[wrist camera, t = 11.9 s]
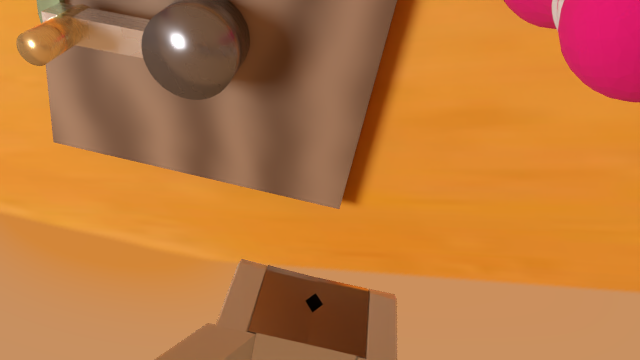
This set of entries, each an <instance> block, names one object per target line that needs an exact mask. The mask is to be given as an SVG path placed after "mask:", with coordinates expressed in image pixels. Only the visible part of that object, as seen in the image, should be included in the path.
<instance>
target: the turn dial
mask: <svg viewBox="0 0 640 360" xmlns="http://www.w3.org/2000/svg"><path fill="white" fill-rule="evenodd" d="M41 13H42V20H43V23H41V24H39V25H37V26H35V27H33V28H31V29H29V30H27V31H25V32H24V33H22V34H20V35H19V36H18V38H17V49H18V51H19V53H20V55H21V56H22V57H23V58H24V59H25V60H26V61H27V62H29V63H31V64H33V65H37V66H42V65H45V64H47V63H48V62H50V61H51V60H53V59H55V58H56V57H58V56H59V55H61V54H62V53H64V52H65V51H67V50H69V49H70V48H72V47H73V46H75V45H76V46H82V47H87V48H92V49H97V50H102V51H107V52H113V53H118V54H123V55H128V56H133V57H138V58H143V59H144V62H145V64H146V66H147V68H148V70H149V72H150V73H151V75H152V76H153V78H154V79H155V80H156V81H157V82H158V83H159V84H160V85H161V86H162V87H163V88H165V89H166V90H168V91H169V92H171V93H173V94H175V95H177V96H179V97H182V98H186V99H192V100H202V99H207V98H211V97H213V96H215V95H217V94H219V93H220V92H222V91H223V90H224V89H225V88H226V87H227V86H228V84H229V83H230V81H231V80H232V78H233V77H234V75H235V74H236V72H237V71H238V69H239V68H240V66H241V65H242V63H243V62H244V60H245V59H246V57H247V54H248V51H249V46H250V35H249V30H248V26H247V23H246V21H245V19H244V17H243V15H242V14H241V12H240V11H239V10H238V9H237V7H236V6H235V5H234V4H232V3H231V2H230V1H229V0H175V1H174V2H172V3H171V4H170V5H168V6H167V7H165V8H164V9H163V10H161V11H160V12H159V13H157V14H156V15H155V16H154V17H153V18H152V19H151V20H149V19H143V18H138V17H133V16H128V15H123V14H117V13H112V12H107V11H102V10H97V9H92V8H91V7H89V6H87V5H84V4H78V5H71V4H65V3H58V4H56V5H54V6H52V7H50V8H48V9H46V10H43V11H41Z"/></svg>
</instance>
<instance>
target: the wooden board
mask: <svg viewBox="0 0 640 360" xmlns="http://www.w3.org/2000/svg"><path fill="white" fill-rule="evenodd" d="M174 1H175V0H37V7H38V12H39V13H38V14H39V18H40V21H41V23H43V20H42V13H41V11H43V10H46V9H48V8H50V7H52V6H54V5H56V4H58V3H65V4H71V5H78V4H84V5H87V6H89V7H91V8H92V9H97V10H102V11H107V12H112V13H117V14H123V15H128V16H133V17H138V18H143V19H149V20H151V19H152V18H153V17H154V16H155V15H156V14H157V13H159V12H160V11H161V10H163V9H164V8H165V7H167V6H168V5H170V4H171V3H172V2H174ZM229 1H230V2H231V3H232V4H234V5H235V6H236V7H237V9H238V10H239V11H240V12H241V14H242V15H243V17H244V19H245V21H246V23H247V26H248V30H249V35H250V46H249V51H248V54H247V57H246V59H245V60H244V62H243V63H242V65H241V66H240V68H239V69H238V71H237V72H236V74H235V75H234V77H233V78H232V80H231V81H230V83H229V84H228V86H227V87H226V88H225V89H224V90H223V91H222V92H220V93H219V94H217V95H215V96H213V97H211V98H207V99H202V100H192V99H186V98H182V97H179V96H177V95H175V94H173V93H171V92H169V91H168V90H166V89H165V88H163V87H162V86H161V85H160V84H159V83H158V82H157V81H156V80H155V79H154V78H153V76H152V75H151V73H150V72H149V70H148V68H147V66H146V64H145V62H144V59H143V58H138V57H133V56H128V55H123V54H118V53H113V52H107V51H102V50H97V49H92V48H87V47H82V46H76V45H75V46H73V47H72V48H70V49H69V50H67V51H65V52H64V53H62V54H61V55H59V56H58V57H56V58H55V59H53V60H51V61H50V62H48V63H47V64H46V71H47V81H48V91H49V101H50V111H51V121H52V130H53V140H54V142H55V143H59V144H64V145H68V146H72V147H76V148H81V149H85V150H89V151H93V152H98V153H102V154H106V155H111V156H115V157H119V158H123V159H128V160H132V161H136V162H140V163H145V164H149V165H153V166H157V167H162V168H166V169H170V170H175V171H179V172H183V173H187V174H192V175H196V176H200V177H204V178H209V179H213V180H217V181H222V182H226V183H230V184H234V185H239V186H243V187H247V188H251V189H256V190H260V191H264V192H269V193H273V194H277V195H281V196H286V197H290V198H294V199H298V200H303V201H307V202H311V203H316V204H320V205H324V206H328V207H333V208H337V209H340V205H341V201H342V198H343V194H344V190H345V187H346V183H347V180H348V176H349V172H350V169H351V165H352V162H353V158H354V154H355V151H356V147H357V143H358V140H359V136H360V133H361V129H362V125H363V122H364V118H365V115H366V111H367V107H368V104H369V100H370V96H371V93H372V89H373V86H374V82H375V78H376V75H377V71H378V68H379V64H380V60H381V57H382V53H383V50H384V46H385V42H386V39H387V35H388V31H389V28H390V24H391V21H392V17H393V13H394V10H395V6H396V3H397V0H229Z"/></svg>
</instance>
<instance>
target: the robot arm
mask: <svg viewBox="0 0 640 360" xmlns="http://www.w3.org/2000/svg"><path fill="white" fill-rule="evenodd" d="M396 305H397V299H396V297H395V295H394V294H391V293H386V292H381V291H376V290H372V289H369V290H368V289H366V288H362V287H358V286H353V285H348V284H344V283H340V282H335V281H330V280H326V279H321V278H316V277H312V276H308V275H304V274H300V273H296V272H292V271H289V270H285V269H281V268H277V267H273V266H269V265H268V266H266V265H263V264H259V263H255V262H251V261H247V260H244V259H241V261H240V262H239V264H238V266H237V268H236V271H235V274H234V277H233V279H232V282H231V285H230V287H229V290H228V293H227V296H226V298H225V301H224V304H223V306H222V309H221V312H220V314H219V317H218V320H217V323H216V325H215V324H210V323H208V324H206V325H205V326H203V327H201V328H200V329H198V330H197V331H195V332H194V333H193V334H191V335H190V336H188V337H187V338H185V339H184V340H182V341H181V342H180V343H178V344H177V345H175V346H174V347H172V348H171V349H169V350H168V351H166V352H165V353H163V354H162V355H160V356H159V357H157V358H156V359H154V360H397V306H396Z"/></svg>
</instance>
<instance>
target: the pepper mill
mask: <svg viewBox="0 0 640 360" xmlns="http://www.w3.org/2000/svg"><path fill="white" fill-rule="evenodd" d="M504 2H505V3H506V4H507V6H508V7H509V8H510V9H511V10H512V11H513V12H514V13H516V14H517V15H518V16H519V17H520V18H522V19H523V20H525V21H527V22H528V23H531V24H534V25H536V26H539V27H545V28H552V29H557V30H558V33H559V39H560V45H561V51H562V54H563V56H564V58H565V60H566V62H567V64H568V65H569V67H570V69H571V70H572V71H573V72H574V73H575V74H576V75H577V77H578V78H579V79H580V80H581V81H582V82H583V83H584V84H586V85H587V86H588V87H590V88H591V89H593V90H594V91H596V92H599V93H601V94H603V95H605V96H607V97H609V98H614V99H619V100H623V101H629V102H640V0H504Z"/></svg>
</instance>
